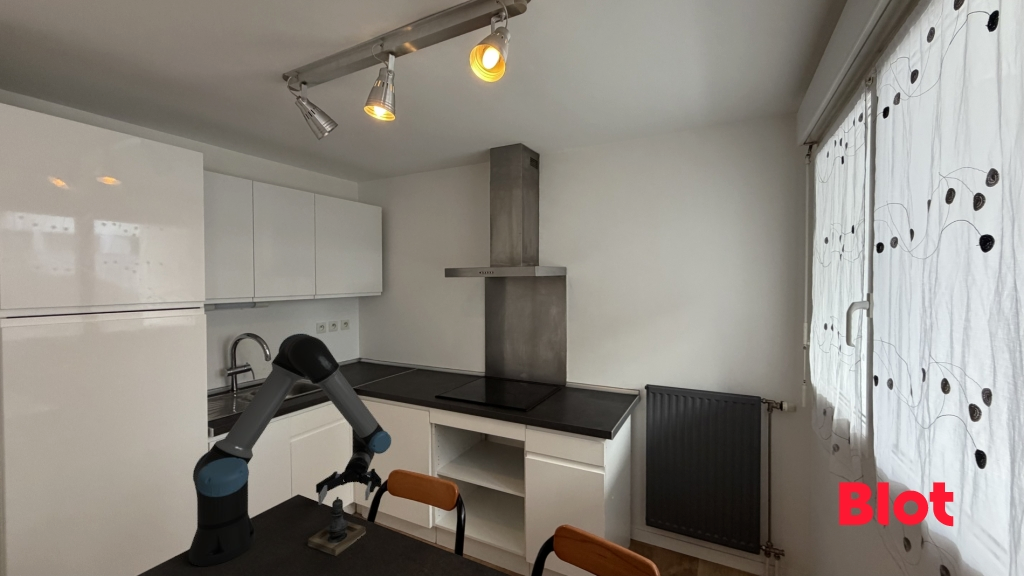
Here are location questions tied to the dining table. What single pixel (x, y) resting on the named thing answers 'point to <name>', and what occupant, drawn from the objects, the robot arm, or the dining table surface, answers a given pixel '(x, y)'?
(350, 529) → the square wooden tray
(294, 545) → the dining table surface
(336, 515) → the dark grey tall figure
